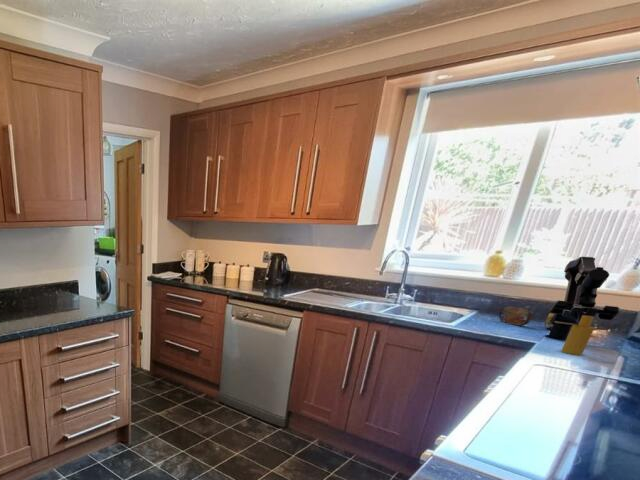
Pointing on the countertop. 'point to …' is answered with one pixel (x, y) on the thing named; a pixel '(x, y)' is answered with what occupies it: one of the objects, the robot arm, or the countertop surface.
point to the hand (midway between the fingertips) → (580, 326)
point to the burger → (547, 323)
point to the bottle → (578, 336)
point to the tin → (515, 315)
